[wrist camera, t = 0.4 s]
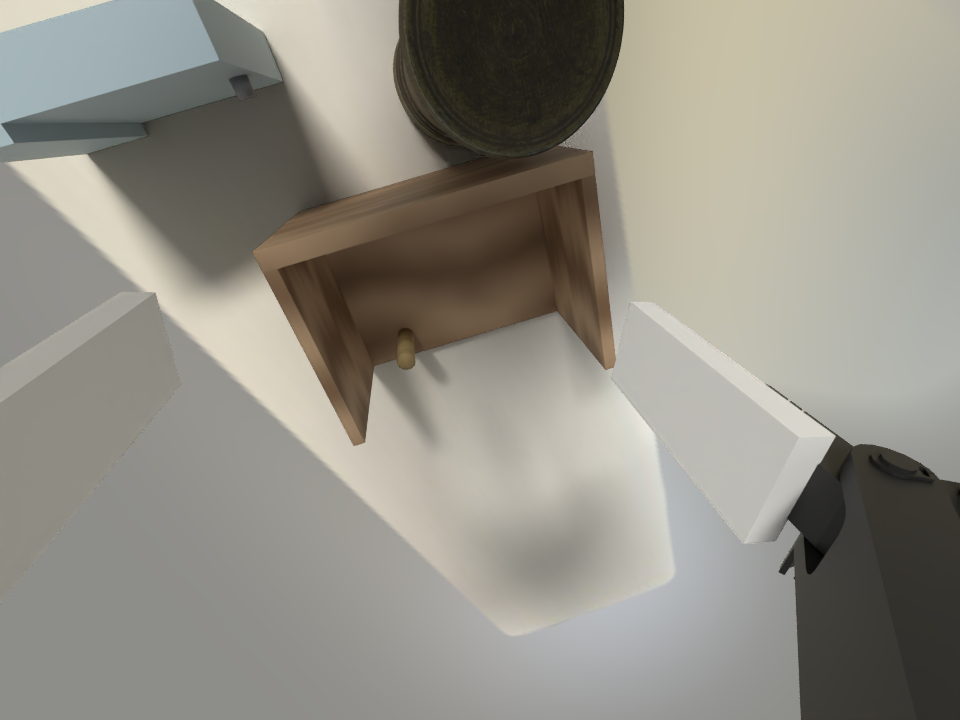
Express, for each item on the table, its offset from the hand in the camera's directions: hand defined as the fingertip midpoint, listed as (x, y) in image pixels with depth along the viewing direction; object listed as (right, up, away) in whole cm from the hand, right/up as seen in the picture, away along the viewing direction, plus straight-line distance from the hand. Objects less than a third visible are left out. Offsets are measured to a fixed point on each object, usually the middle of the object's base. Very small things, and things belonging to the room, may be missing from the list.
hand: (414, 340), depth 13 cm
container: (0, +20, +19) cm, 27 cm away
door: (-19, +17, +16) cm, 30 cm away
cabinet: (-1, +8, +25) cm, 26 cm away
